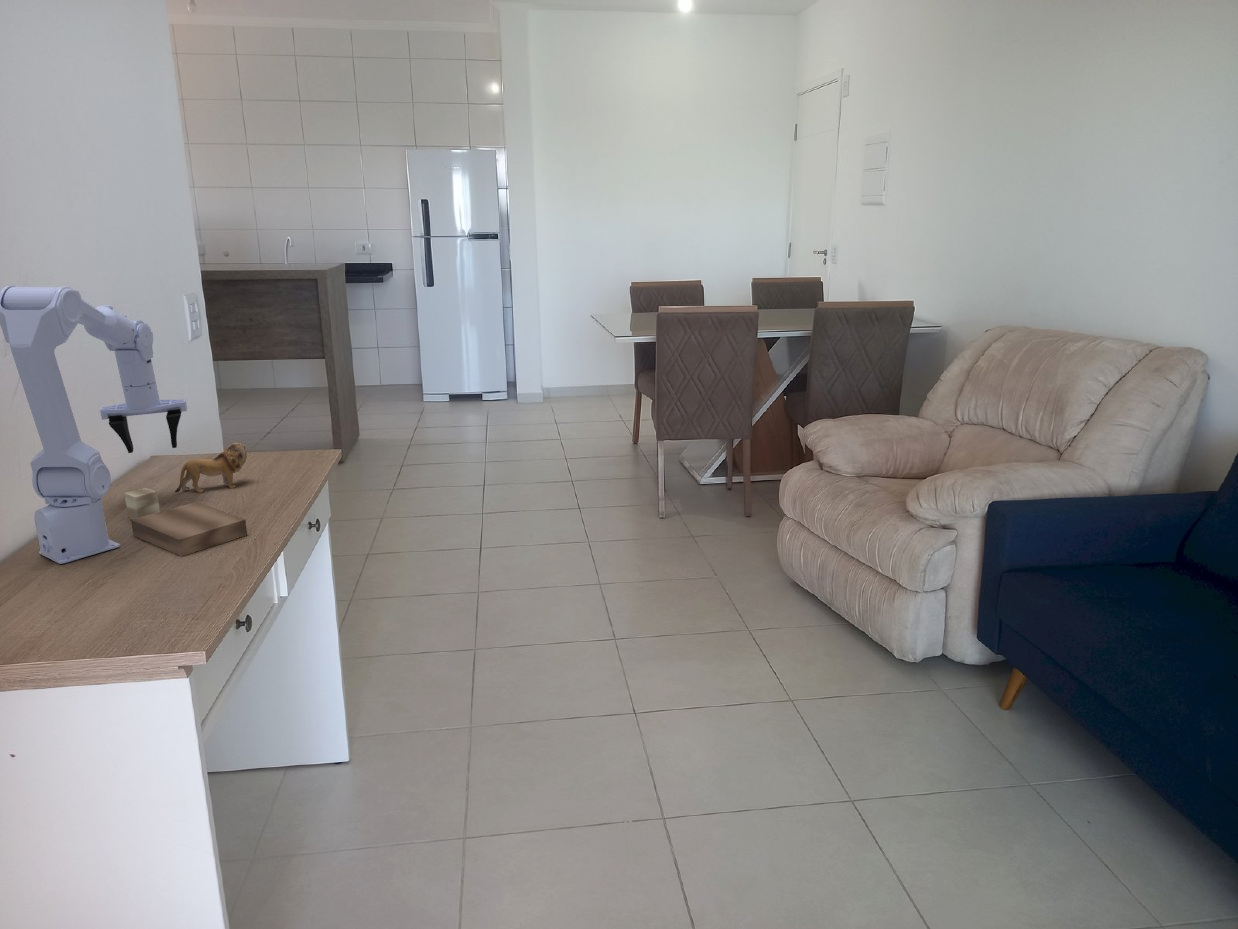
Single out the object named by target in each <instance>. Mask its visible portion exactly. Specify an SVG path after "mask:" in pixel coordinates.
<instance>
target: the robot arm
mask: <svg viewBox="0 0 1238 929" xmlns="http://www.w3.org/2000/svg"><path fill="white" fill-rule="evenodd" d="M78 324H79V325H82V326H83V328H84V330H85V331H86V333H87V334H88V335H90V336H92V337H93V338H95V339H97V340H100V341H102V342H103V343H104V345H105V346H106V348H107V350H109V351H110V352H111V351H112V352H114V355H115V361H116V364H117V369H118V374H119V377H120V378H119V379H120V381H121V386H122V391H123V396H124V400H125V403H119V404H116V405H115V404H114V405H109V406H101V407H100V410H99V411H100V412H99V413H100V416H101V419H102V421H105V420H108V425H109V427H110V428H111V429H112V430H113V431H114V432H115V433H116V434H117V436H118V437H119V438H120V440H121V441H122V442H123V444H124V446H125V448H126V450H127V453H128V454H133V452H134V444H133V443H134V442H133V441H132V436H131V434H130V430H129V424H128V423H129V422H128V417H131V416H133V417H134V416H140V415H141V416H143V415H152V414H161V413H166V415H165V418H166V422H167V425H168V430H169V434H170V442H171V443H170V444H171V447H172V449H175V448H177V447H178V441H177V440H178V438H177V436H178V435H177V434H178V428H179V423H180V419H181V416H182V413H183V412H187V410H188V405H187V404H188V403H187V400H186V399H185V398H184V399H183V398H181V399H160V395H159V390H158V386H157V381H156V376H155V371H154V366H153V363H152V362H153V361H152V359H153V357H154V350H153V344H154V333H153V331H152V329H151V327H150V325H149V324H147V323H145V322H144V321H142V320H132V319H131V318H128V315H126V314H124V313H120V312H119V313H118V311H115V310H114V307H113V306H112V305H110V304H101V305H100V306H94V305H92V304H90V303H89V302H87V301H86V300H84V299H83V298H82V296H81V293H80V291H79V290H76V289H73V288H72V287H71V286H65V285H63V286H58V287H57V286H15V285H7V286H4V287H3V288H2V289H1V291H0V327H1V332H2V334H3V337H4V341H5V342H6V343H7V344H9V348H10V351H11V354H12V358H13V360H14V364H15V368H16V370H17V371H18V372H17V373H18V376H19V379H20V382H21V385H22V387H23V391H24V394H25V397H26V400H27V403H28V406H29V409H30V411H31V414H32V418H33V421H34V424H35V427H36V430H37V433H38V436H39V439H40V443H41V445H42V448H43V449H41V450H40V451H39V452H38V453H37V454H35V455H34V457H32V460H31V461H30V463H29V464H30V467H31V472H32V474H31V475H32V478H31V483H32V488H33V490H34V491H35V493H36V495H37V496H38V497H40V498H42V499H44V502H45V504H46V506H45V507H42V508H39V509H36V511H35V512H34V516H33V517H34V526H35V529H36V533H37V540H38V543H39V549H40V550H39V554H40V555H42V556H44V557H46V558H48V559H49V560H52V561H53V562H55V563H56V564H60V565H61V564H62V565H63V564H67V563H69V562H73V561H77V560H80V559H83V558H87V557H90V556H93V555H96V554H100V553H103V552H106V551H110V550H113V549H116V548H120V546H121V544H120V543H119V542H115V541H113V540H111V539H109V535H108V528H107V524H106V518H105V512H104V507H103V501H102V500H103V499H102V498H104V497H105V496H106V495H107V493H108V491H109V489H110V487H111V482H112V479H111V471H110V470H109V468H108V467H107V464H105V462H104V461H103V459H102V456H101V453H100V451H98V449H95V448H93V447H92V446H90V445H88V444H87V443H85V442H84V441H83V440H82V439H81V436H80V433H79V430H78V427H77V423H76V420H75V416H74V413H73V411H72V409H73V408H72V407H71V403H70V399H69V396H68V394H67V391H66V387H65V383H64V381H63V378H62V374H61V371H60V368H59V364H58V360H57V358H56V354H55V350H56V349H57V347H59V346H60V345H63V344H65V343H66V342H67V341H68V340H69V338H70V336H71V335H72V333H73V332H74V330H75V329H76V327H77V326H78Z"/></svg>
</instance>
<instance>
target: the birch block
mask: <svg viewBox="0 0 1238 929" xmlns="http://www.w3.org/2000/svg"><path fill="white" fill-rule="evenodd" d="M123 494H124V499H125V507H126V512H127V517H128V519H130V520H132V519H135V518H139V517H143V516H146V515H150V514H154V513H157V512H161V510H160V502H159V496H158V491H156V490H154V489H150V488H148V487H143V488H138V489H136V490H131V491H126V492H123Z"/></svg>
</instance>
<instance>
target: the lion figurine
mask: <svg viewBox="0 0 1238 929" xmlns="http://www.w3.org/2000/svg"><path fill="white" fill-rule="evenodd" d="M247 458H248V453H247V450H246V445H245V444H243V443H240V442H232V443H231V444H229V445H227V448H226V449H224V450H223V451H222V452H220V453H219V454H218V455H217V456H216V457H214V458H212V459H210V458H209V459H200V458H195V459H194V458H193V459H190V460H188V461H186V462H185V463H184V464H183V466H182V468H181V471H180V476H179V477H180V478H179V483H178V487H177V488H176V489H175V490H174V494H175V493H179V492H181V490H182V491H190V486H187V484H188V482H190V480H192V483H191V484H192V487H193V489H194V490H195V491H196V492H197V493H200V494H201V493H205V489H204V488H200V487H199V481H200V477H201V474H202V475H204V476H206V477H218V476H219V477H220V476H222V482H223V484H224V486H228V487H229V488H230V489H235V487H236V488H237V485H236V484H233V480H234V473H239V472H240V471H241V470H242V467H243V466H244V465H245V464H246V461H247Z"/></svg>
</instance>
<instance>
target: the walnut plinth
mask: <svg viewBox="0 0 1238 929" xmlns="http://www.w3.org/2000/svg"><path fill="white" fill-rule="evenodd" d="M130 524H131V529H132V535H133V536H134V537H136V538H138V539H141V540H142V541H145V542H147V543H149V544H151V545H154V546H156V547H159V548H160V549H161V548H162V549H163V550H166V551H168V552H170V553H173V554H175V555H177V556H180V557H184V556H188V555H191V554H193V553H196V551H197V552H200V551H202V550H206V549H208V548H211V547H215V546H218V545H221V544H225V543H228V542H230V541H234V540H237V539H239V538H238V537H240V538H243V537H246V536H248V530H247V522H246V519H245V518H242V517H239V516H236V515H233V514H231V513H229V512H226V511H223V510H220V509H217V508H214V507H212V506H208V505H206V504H204V503H201V502H198V501H194V502H192V503H191V502H190V503H188V504H183V505H180V506H176V507H172V508H168V509H165V510H160V512H157V513H154V514H150V515H146V516H143V517H139V518H135V519H130ZM236 538H237V539H236Z"/></svg>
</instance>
